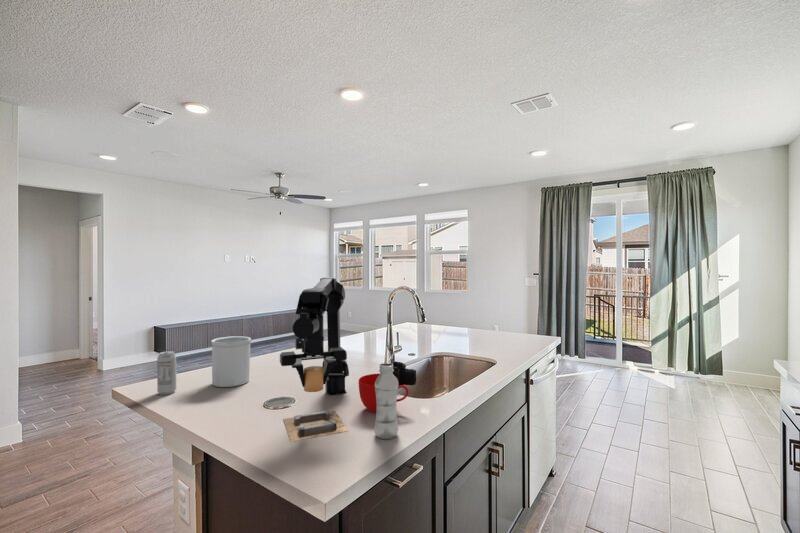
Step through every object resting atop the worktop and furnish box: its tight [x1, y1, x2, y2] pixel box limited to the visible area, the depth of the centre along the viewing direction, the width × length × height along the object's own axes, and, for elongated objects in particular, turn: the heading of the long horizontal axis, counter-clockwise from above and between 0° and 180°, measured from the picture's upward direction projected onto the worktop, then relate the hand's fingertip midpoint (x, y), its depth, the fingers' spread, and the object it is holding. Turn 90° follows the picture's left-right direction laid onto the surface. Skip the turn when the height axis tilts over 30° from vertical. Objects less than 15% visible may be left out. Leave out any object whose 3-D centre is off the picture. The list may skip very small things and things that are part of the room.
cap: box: [303, 365, 324, 393], centre depth 110 cm, size 6×6×6 cm
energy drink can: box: [156, 350, 177, 396], centre depth 139 cm, size 6×6×15 cm
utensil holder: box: [210, 335, 252, 388], centre depth 152 cm, size 15×15×18 cm
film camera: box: [392, 360, 417, 386], centre depth 147 cm, size 15×10×9 cm, turn 169°
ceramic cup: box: [358, 373, 409, 414], centre depth 122 cm, size 13×17×10 cm
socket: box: [283, 410, 349, 443], centre depth 110 cm, size 16×16×2 cm
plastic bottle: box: [373, 362, 399, 440], centre depth 103 cm, size 6×7×20 cm
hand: (313, 385), depth 110 cm, fingers closed on cap, 6 cm apart
